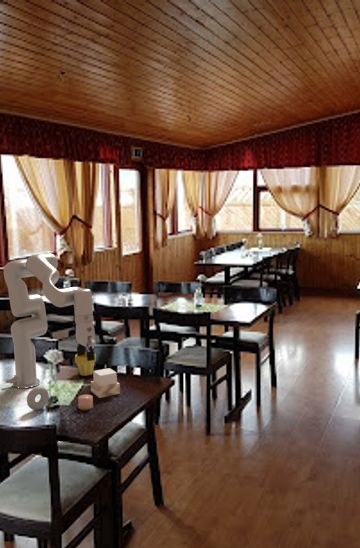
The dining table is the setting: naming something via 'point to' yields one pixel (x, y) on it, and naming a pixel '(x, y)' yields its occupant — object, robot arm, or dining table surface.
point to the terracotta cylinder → (85, 402)
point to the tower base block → (105, 389)
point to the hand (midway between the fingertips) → (86, 357)
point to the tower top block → (105, 377)
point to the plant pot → (84, 364)
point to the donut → (32, 396)
